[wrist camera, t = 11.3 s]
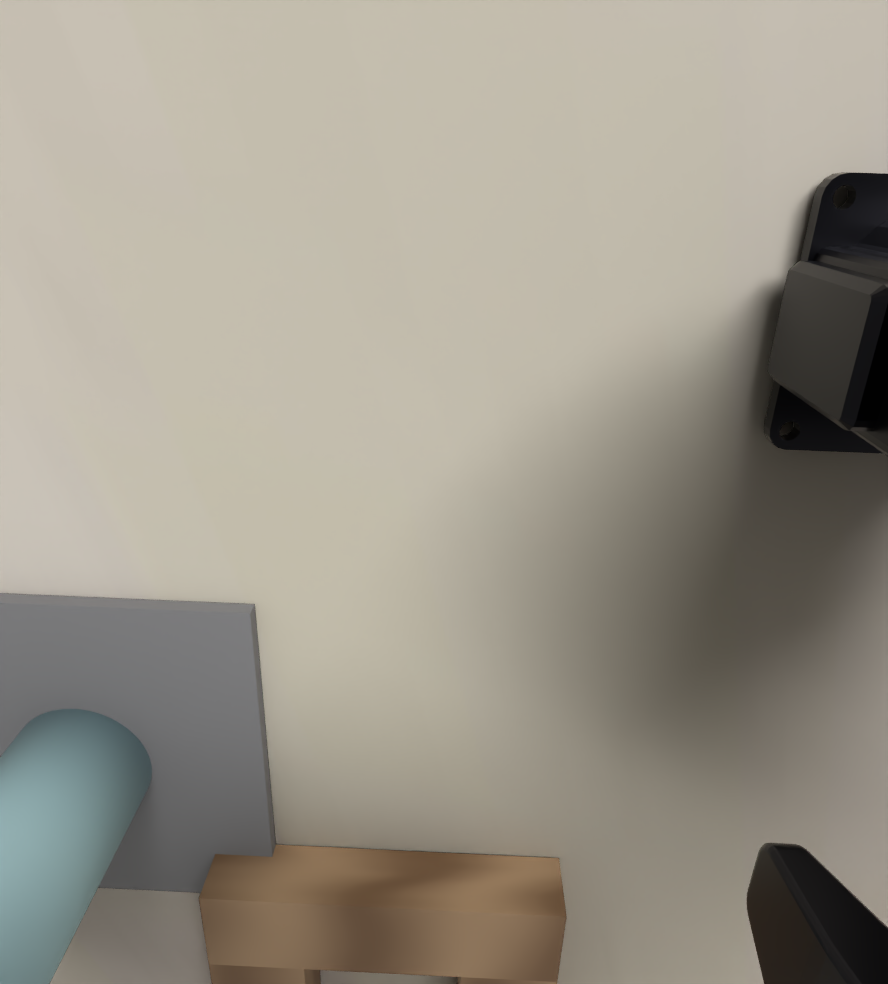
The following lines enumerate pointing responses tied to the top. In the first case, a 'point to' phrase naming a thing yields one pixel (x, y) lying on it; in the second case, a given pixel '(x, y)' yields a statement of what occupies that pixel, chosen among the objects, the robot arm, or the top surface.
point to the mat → (155, 718)
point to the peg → (60, 830)
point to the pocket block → (382, 916)
